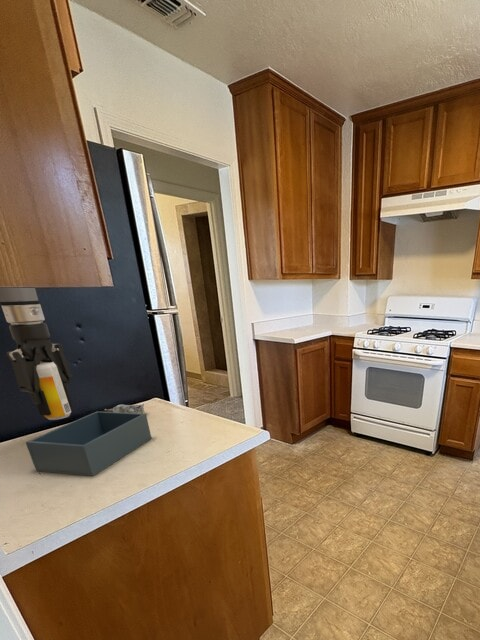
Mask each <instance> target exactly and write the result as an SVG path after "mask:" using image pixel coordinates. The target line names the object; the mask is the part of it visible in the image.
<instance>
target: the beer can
mask: <svg viewBox="0 0 480 640" xmlns="http://www.w3.org/2000/svg"><path fill="white" fill-rule="evenodd" d="M36 370H37V373H38V376H39V391H43V392H44V395H45V398H46V401H47V404H48V406H49V409H50V412H51V415H43V416H44V418H46V419H47V420H49V421H56V420H57V421H58V420H62V419H65V418H69V417H70V416H71V413H72V409H71V407H70V406H69V403H68V400H67V397H66V394H65V391H64V388H63V384H62V381H61V378H60V375H59V372H58V369H57V366H56V364H55V363H54V362H42V361H40V365H37V368H36Z"/></svg>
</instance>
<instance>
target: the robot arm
mask: <svg viewBox="0 0 480 640" xmlns="http://www.w3.org/2000/svg"><path fill="white" fill-rule="evenodd" d="M0 306H1V309H2V312H3V314H4V318H5V321H6V323H8V324H9V326H8V328H9V331H10V334H11V338H12V339H13V341H15V342H16V349H15V350H13V351H7V352H6V354H5V355H6V356H7V358H8V359H9V361H10V362H11V365H12V370H13V372H14V377H15V379H16V383H17V385H18V390H19V391H20V392H25V393H26V392H27V393H29V394H30V397H31V400H32V403H33V404H34V405H36V408H37V411H38V413H39V415H40V416H44V415H51V412H50V409H49V406H48V404H47V401H46V398H45V395H44V392H43V391H39V376H38V373H37V370H36V368H37V365H40V361H42V362H54V363H55V364H56V366H57V369H58V372H59V375H60V378H61V381H62V384H63V388H64V391H65V394H66V397H67V400H68V403H69V406H70V408H72V407H73V404H72V400H71V398H70V394H71V393H70V388H69V384H70V382H71V380H72V379H73V375H72V373H71V370H70V368H69V367H70V366H69V365H68V361H67V358H66V355H65V353H64V346H63V344H62V343H53V342H52V341H51V340H50V337H51V334H50V331H49V327H48V324H47V323H46V322H43V321H45V320H46V319H45V315H44V312H43V309H42V306H41V303H40V301H39V297H38V294H37V290H36V287H35V288H0Z"/></svg>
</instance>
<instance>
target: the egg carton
mask: <svg viewBox="0 0 480 640" xmlns="http://www.w3.org/2000/svg"><path fill="white" fill-rule="evenodd" d="M144 406H145V403H141V404H123V403H122V404H118V405H115V406H113V408H109V409H108V408H104V409H103V412H120V413H139V414H146V412H145V409H144Z"/></svg>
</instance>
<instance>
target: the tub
mask: <svg viewBox="0 0 480 640" xmlns="http://www.w3.org/2000/svg"><path fill="white" fill-rule="evenodd" d="M152 439H153V438H152V434H151V429H150V425H149V422H148V416H147V413H145V414H139V413H120V412H107V411H99V410H97V411H95V412H92V413H90V414H88V415H85V416H83V417H81V418H78V419H76V420H73V421H72V422H69V423H66V424H64V425H62V426H59V427H57V428H55V429H52V430H51V431H48V432H46V433H43V434H41V435H39V436H35V437H34V438H31V439H29V440H26V441H25V445H26V448H27V451H28V454H29V455H30V458H31V460H32V463H33V466H34V468H35V471H36V472H42V473H43V472H44V473H54V474H65V475H77V476H87V477H94V476H95V475H97V474H98V473H100V472H102V471H103V470H105V469H107V468H109V467H110V466H111V465H113V464H114V463H116V462H118V461H119V460H120V459H122V458H124V457H125V456H127V455H129V454H130V453H132V452H133V451H135V450H136V449H138V448H140V447H141V446H143V445H144V444H147V442H149V441H150V440H152Z"/></svg>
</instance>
